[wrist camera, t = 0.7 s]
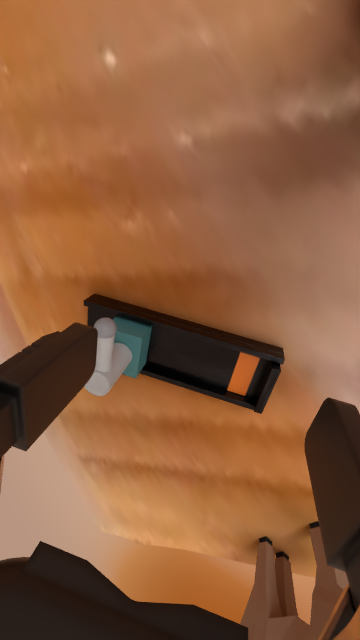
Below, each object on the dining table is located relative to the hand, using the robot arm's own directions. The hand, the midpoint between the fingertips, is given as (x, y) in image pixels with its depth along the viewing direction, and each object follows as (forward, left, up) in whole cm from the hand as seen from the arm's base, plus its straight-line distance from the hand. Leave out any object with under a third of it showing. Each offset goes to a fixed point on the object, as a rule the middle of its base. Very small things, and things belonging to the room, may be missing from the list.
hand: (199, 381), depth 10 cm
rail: (+11, -3, -19) cm, 22 cm away
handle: (+9, -8, -17) cm, 21 cm away
